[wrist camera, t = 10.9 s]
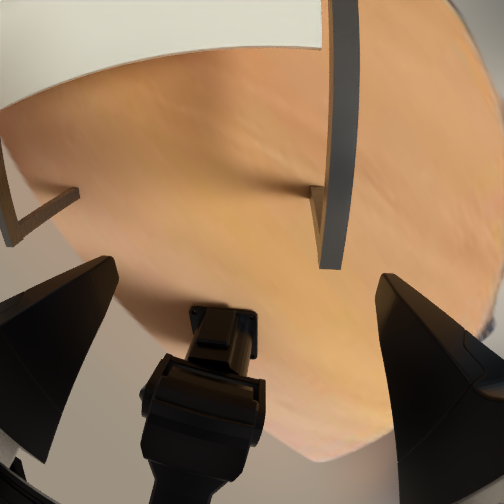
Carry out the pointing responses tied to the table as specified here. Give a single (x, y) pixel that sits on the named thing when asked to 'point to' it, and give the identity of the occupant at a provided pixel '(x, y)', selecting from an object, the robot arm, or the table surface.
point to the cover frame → (321, 198)
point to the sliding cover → (136, 35)
